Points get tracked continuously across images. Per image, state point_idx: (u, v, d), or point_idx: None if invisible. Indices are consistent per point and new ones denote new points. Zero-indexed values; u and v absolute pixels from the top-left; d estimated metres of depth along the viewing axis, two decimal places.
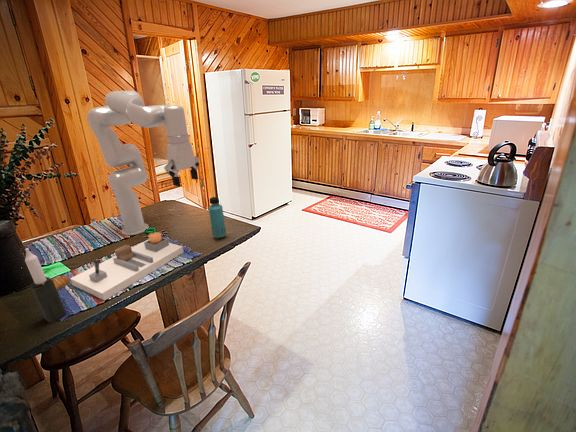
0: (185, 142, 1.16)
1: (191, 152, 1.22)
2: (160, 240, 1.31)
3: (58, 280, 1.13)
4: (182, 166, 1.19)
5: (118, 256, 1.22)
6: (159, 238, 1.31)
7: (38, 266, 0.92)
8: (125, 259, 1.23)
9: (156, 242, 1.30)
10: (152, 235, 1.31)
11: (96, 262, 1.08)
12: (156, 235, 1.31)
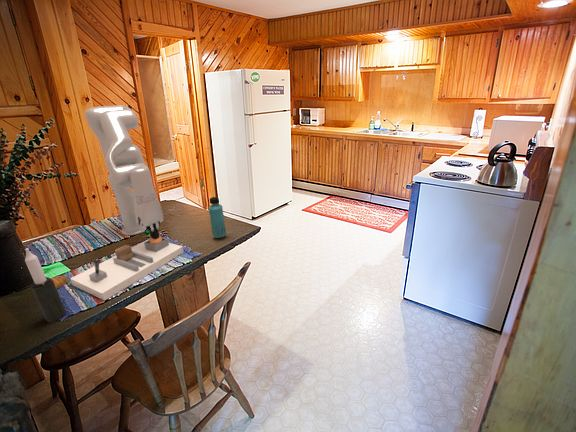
0: (151, 200, 1.23)
1: (159, 208, 1.28)
2: None
3: (56, 280, 1.14)
4: (149, 222, 1.25)
5: (118, 256, 1.22)
6: (160, 241, 1.31)
7: (38, 266, 0.92)
8: (125, 259, 1.23)
9: None
10: None
11: (96, 262, 1.08)
12: (157, 238, 1.31)
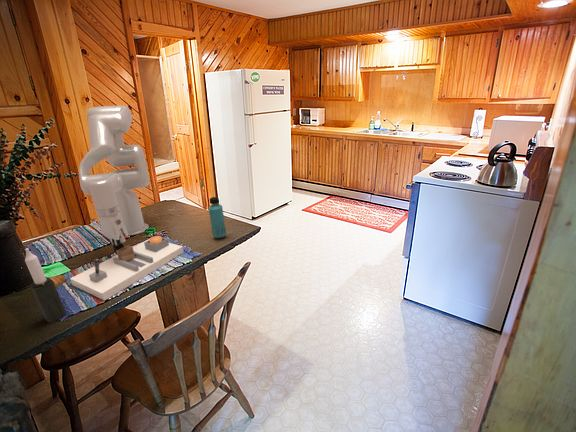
0: (98, 216, 1.15)
1: (111, 227, 1.16)
2: None
3: (54, 279, 1.14)
4: (105, 234, 1.21)
5: (120, 257, 1.21)
6: (160, 241, 1.31)
7: (38, 266, 0.92)
8: (127, 260, 1.22)
9: None
10: (153, 238, 1.32)
11: (96, 262, 1.08)
12: (157, 238, 1.31)
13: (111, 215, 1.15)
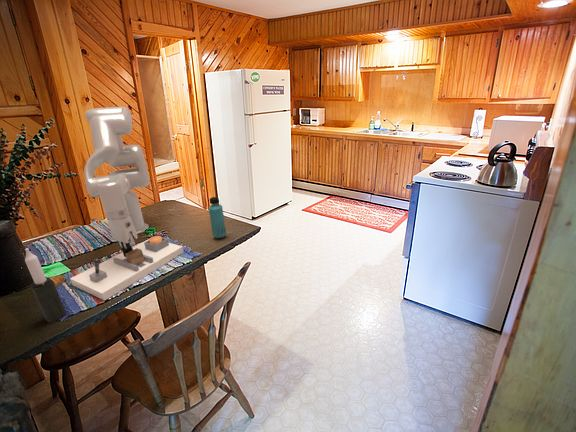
0: (107, 218, 1.12)
1: (120, 230, 1.14)
2: None
3: (53, 279, 1.14)
4: (114, 237, 1.18)
5: (129, 260, 1.18)
6: (160, 241, 1.31)
7: (38, 266, 0.92)
8: (136, 263, 1.20)
9: None
10: (153, 238, 1.32)
11: (96, 262, 1.08)
12: (157, 238, 1.31)
13: (121, 218, 1.13)
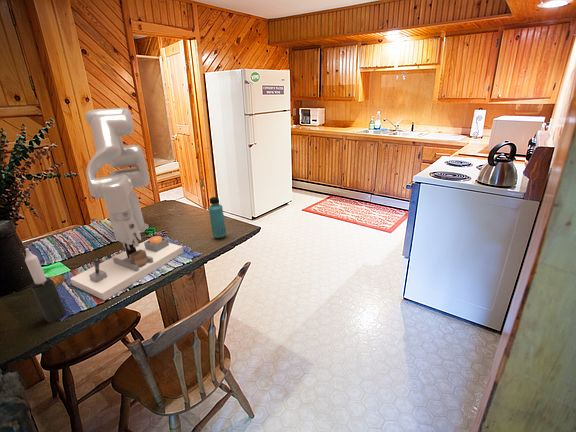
0: (111, 220, 1.11)
1: (124, 232, 1.12)
2: None
3: (53, 279, 1.14)
4: (118, 238, 1.17)
5: (132, 261, 1.17)
6: (160, 241, 1.31)
7: (38, 266, 0.92)
8: (139, 264, 1.19)
9: None
10: (153, 238, 1.32)
11: (96, 262, 1.08)
12: (157, 238, 1.31)
13: (124, 219, 1.11)
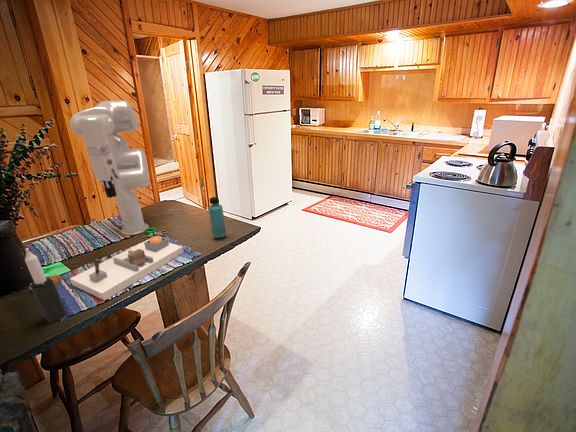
0: (89, 155, 1.14)
1: (102, 167, 1.15)
2: None
3: (50, 278, 1.14)
4: (97, 176, 1.19)
5: (131, 261, 1.18)
6: (160, 241, 1.31)
7: (38, 266, 0.92)
8: (138, 264, 1.19)
9: None
10: (153, 238, 1.32)
11: (96, 262, 1.08)
12: (157, 238, 1.31)
13: (102, 154, 1.14)
